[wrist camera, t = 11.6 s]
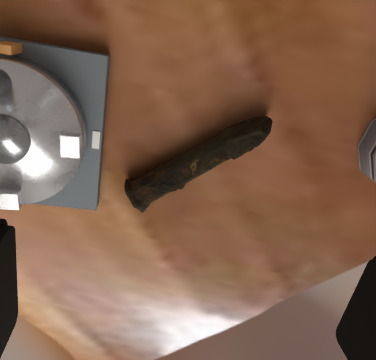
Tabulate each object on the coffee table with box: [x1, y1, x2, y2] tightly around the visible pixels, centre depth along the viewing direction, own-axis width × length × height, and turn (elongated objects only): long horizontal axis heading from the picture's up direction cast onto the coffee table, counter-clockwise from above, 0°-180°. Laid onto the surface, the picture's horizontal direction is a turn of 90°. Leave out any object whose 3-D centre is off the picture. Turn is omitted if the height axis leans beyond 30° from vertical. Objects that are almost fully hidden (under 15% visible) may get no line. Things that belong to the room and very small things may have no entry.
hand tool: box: [124, 116, 272, 212], centre depth 41 cm, size 19×4×5 cm, turn 117°
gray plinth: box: [0, 36, 110, 210], centre depth 36 cm, size 18×18×5 cm
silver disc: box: [0, 56, 88, 210], centre depth 33 cm, size 15×15×8 cm
